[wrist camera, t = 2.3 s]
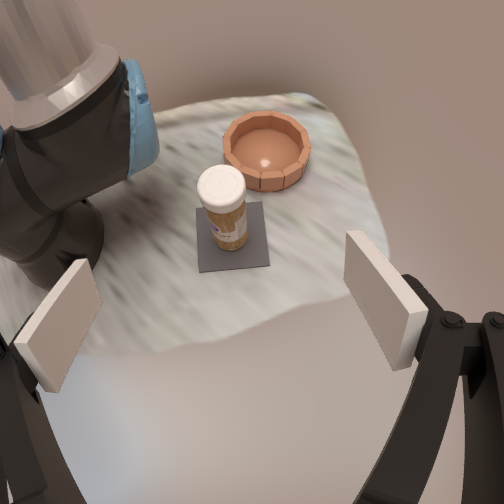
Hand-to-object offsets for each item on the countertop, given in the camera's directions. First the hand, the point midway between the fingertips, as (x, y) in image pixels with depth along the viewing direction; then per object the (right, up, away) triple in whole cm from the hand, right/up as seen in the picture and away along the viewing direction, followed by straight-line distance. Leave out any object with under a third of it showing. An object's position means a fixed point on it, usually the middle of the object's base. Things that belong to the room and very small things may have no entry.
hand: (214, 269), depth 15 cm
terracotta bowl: (+4, +15, +30) cm, 34 cm away
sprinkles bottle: (-1, +3, +26) cm, 26 cm away
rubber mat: (-1, +3, +26) cm, 27 cm away
